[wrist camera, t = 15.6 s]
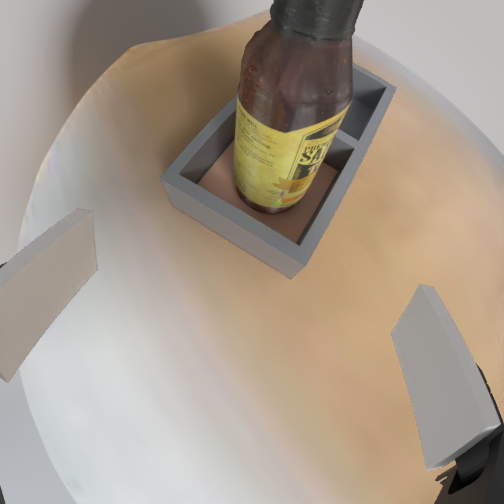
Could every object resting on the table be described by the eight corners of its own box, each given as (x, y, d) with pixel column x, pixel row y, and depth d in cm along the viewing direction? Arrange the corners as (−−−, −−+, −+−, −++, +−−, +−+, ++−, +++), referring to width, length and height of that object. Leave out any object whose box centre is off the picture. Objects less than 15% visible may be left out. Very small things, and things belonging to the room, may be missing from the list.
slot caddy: (379, 114, 30) (396, 87, 25) (290, 279, 24) (305, 266, 19) (293, 68, 31) (300, 38, 26) (171, 205, 25) (159, 178, 20)
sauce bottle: (290, 229, 24) (412, -1, 5) (220, 199, 24) (210, -54, 5) (315, 168, 25) (408, -32, 6) (252, 142, 26) (280, -72, 7)
